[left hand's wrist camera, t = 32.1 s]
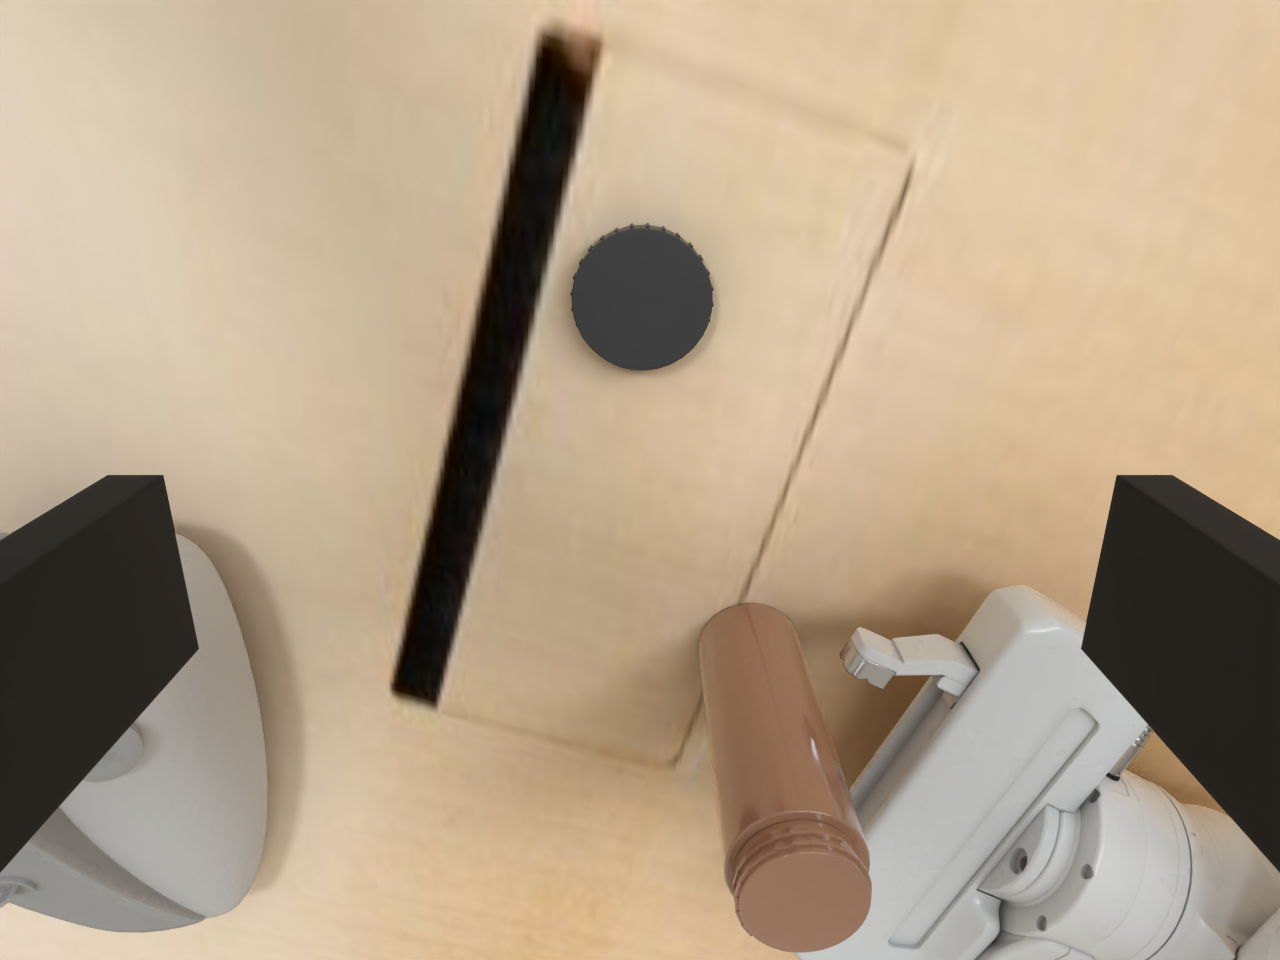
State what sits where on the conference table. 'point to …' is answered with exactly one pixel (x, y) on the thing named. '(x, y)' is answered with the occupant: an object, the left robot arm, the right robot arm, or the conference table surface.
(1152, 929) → the right robot arm
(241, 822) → the projector
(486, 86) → the conference table surface
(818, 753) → the jar
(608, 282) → the lid
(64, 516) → the left robot arm
